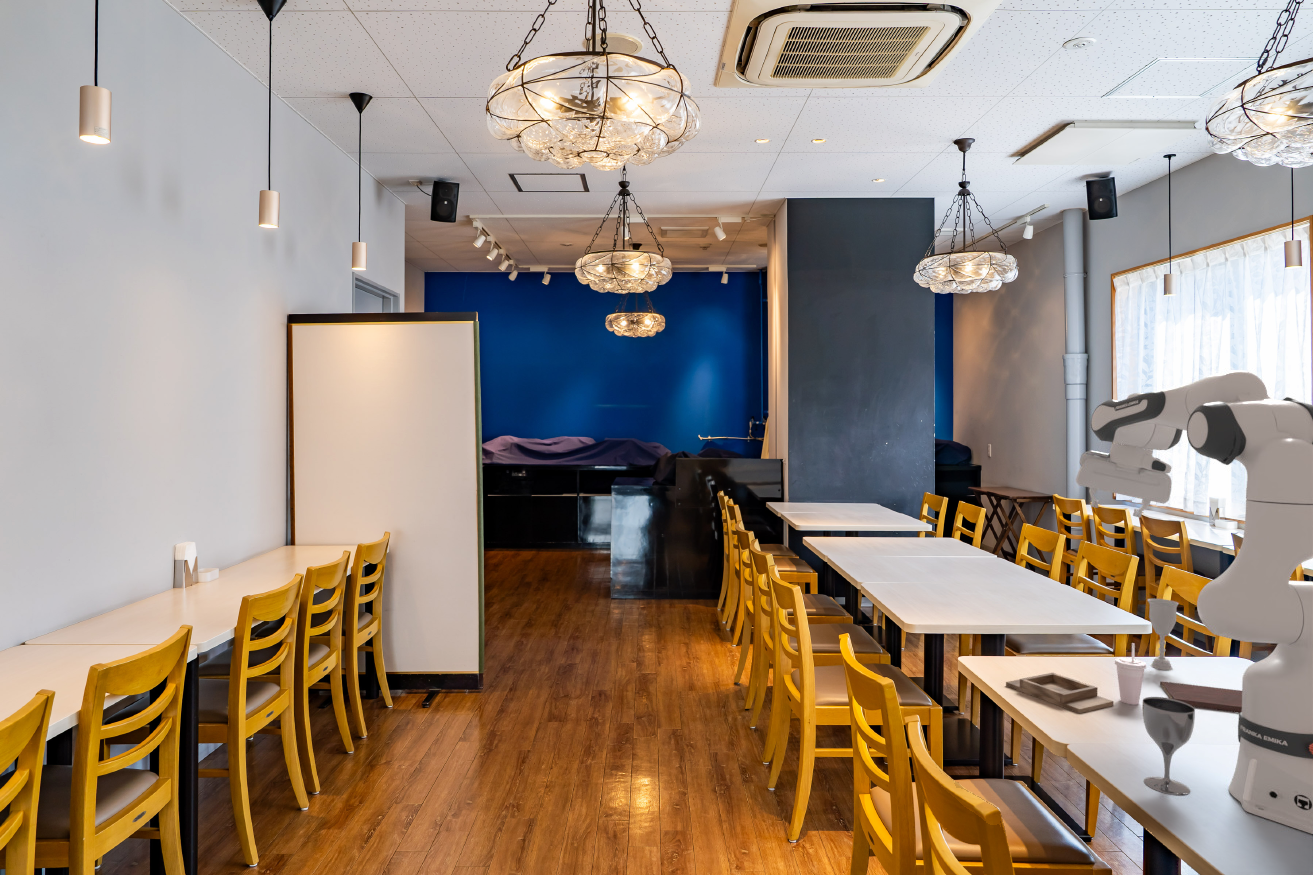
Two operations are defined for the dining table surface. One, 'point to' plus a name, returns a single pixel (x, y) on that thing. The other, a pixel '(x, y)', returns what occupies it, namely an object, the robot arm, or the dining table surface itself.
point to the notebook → (1205, 696)
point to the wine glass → (1168, 736)
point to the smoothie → (1130, 678)
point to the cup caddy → (1062, 692)
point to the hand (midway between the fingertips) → (1115, 511)
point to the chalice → (1162, 627)
